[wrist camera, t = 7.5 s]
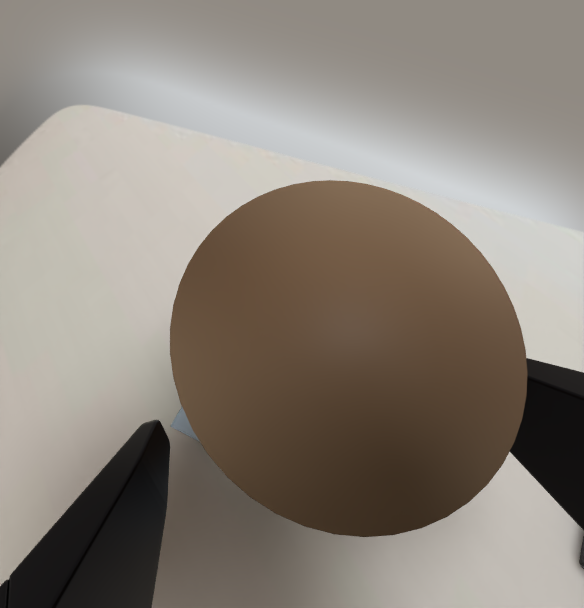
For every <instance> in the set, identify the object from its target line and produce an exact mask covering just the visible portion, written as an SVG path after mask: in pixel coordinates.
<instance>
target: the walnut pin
mask: <svg viewBox="0 0 584 608" xmlns="http://www.w3.org/2000/svg"><path fill="white" fill-rule="evenodd" d="M170 356H171V363H172V370H173V377H174V381H175V385H176V388H177V392H178V395H179V399H180V402H181V405H182V407H183V410H184V412H185V414H186V416H187V418H188V421H189V423H190V425H191V427H192V430H193V431H194V433H195V435H196V436H197V438H198V439H199V441H200V442H201V444H202V446H203V447H204V449H205V450H206V452H207V453H208V455H209V456H210V457H211V458H212V460H213V461H214V462H215V463H216V464H217V465H218V467H219V468H220V469H221V470H222V471H223V472H224V474H225V475H226V476H227V477H228V478H229V479H230V480H231V481H232V482H234V483H235V484H236V485H237V486H238V487H239V488H241V489H242V490H243V491H244V492H245V493H246V494H247V495H249V496H250V497H251V498H252V499H254V500H256V501H257V502H259V503H260V504H262V505H263V506H265V507H267V508H268V509H270V510H271V511H273V512H274V513H276V514H278V515H280V516H283V517H285V518H287V519H289V520H292V521H294V522H296V523H298V524H301V525H303V526H306V527H309V528H313V529H317V530H321V531H325V532H328V533H332V534H339V535H349V536H359V537H371V536H385V535H395V534H399V533H403V532H407V531H411V530H415V529H419V528H423V527H425V526H427V525H429V524H432V523H434V522H436V521H438V520H441V519H443V518H445V517H447V516H449V515H450V514H452V513H453V512H455V511H456V510H458V509H459V508H461V507H462V506H464V505H465V504H467V503H468V502H469V501H470V500H472V499H473V498H474V497H475V496H476V495H477V494H478V493H479V492H480V491H481V490H482V489H483V488H484V487H485V486H486V485H487V484H488V483H489V482H490V480H491V479H492V478H493V476H494V475H495V474H496V472H497V471H498V470H499V468H500V467H501V466H502V464H503V463H504V461H505V459H506V457H507V455H508V453H509V451H510V449H511V447H512V445H513V444H514V442H515V439H516V436H517V433H518V430H519V427H520V424H521V421H522V417H523V412H524V406H525V401H526V393H527V362H526V351H525V346H524V341H523V336H522V332H521V327H520V324H519V321H518V318H517V315H516V312H515V310H514V307H513V305H512V302H511V300H510V298H509V296H508V294H507V292H506V290H505V287H504V286H503V284H502V283H501V281H500V279H499V278H498V276H497V274H496V273H495V271H494V269H493V268H492V267H491V265H490V264H489V263H488V261H487V260H486V259H485V257H484V256H483V255H482V253H481V252H480V251H479V250H478V249H477V248H476V247H475V246H474V245H473V244H472V243H471V241H470V240H469V239H468V238H467V237H466V236H465V235H463V234H462V233H461V232H460V231H459V230H458V229H457V228H455V227H454V226H453V225H452V224H451V223H449V222H448V221H447V220H445V219H444V218H442V217H441V216H440V215H438V214H437V213H436V212H434V211H432V210H430V209H429V208H427V207H425V206H424V205H422V204H420V203H418V202H416V201H414V200H412V199H410V198H408V197H406V196H403V195H401V194H398V193H395V192H393V191H390V190H387V189H384V188H380V187H376V186H372V185H368V184H363V183H356V182H349V181H330V180H329V181H312V182H306V183H300V184H294V185H290V186H286V187H283V188H279V189H276V190H273V191H271V192H268V193H266V194H263V195H261V196H259V197H257V198H255V199H253V200H251V201H249V202H248V203H246V204H244V205H242V206H241V207H239V208H238V209H237V210H235V211H234V212H233V213H231V214H230V215H228V216H227V217H226V218H225V219H224V220H223V221H222V222H221V223H219V224H218V225H217V226H216V227H215V228H214V229H213V230H212V231H211V232H210V234H209V235H208V236H207V237H206V238H205V240H204V241H203V242H202V243H201V245H200V246H199V247H198V249H197V251H196V252H195V254H194V255H193V257H192V259H191V260H190V262H189V264H188V266H187V268H186V270H185V273H184V275H183V277H182V279H181V282H180V284H179V288H178V291H177V295H176V298H175V301H174V305H173V312H172V319H171V326H170Z"/></svg>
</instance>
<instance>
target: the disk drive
mask: <svg viewBox="0 0 584 608" xmlns="http://www.w3.org/2000/svg"><path fill="white" fill-rule="evenodd" d="M580 565H581V567H582V568H584V537H583V544H582V549H581V555H580Z"/></svg>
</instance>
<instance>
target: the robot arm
mask: <svg viewBox="0 0 584 608" xmlns="http://www.w3.org/2000/svg"><path fill="white" fill-rule="evenodd" d="M526 362H527V393H526V401H525V406H524V412H523V417H522V421H521V424H520V427H519V430H518V433H517V436H516V439H515V442H514V444H513V445H512V447H511V449H510V452H511V453H512V454H513V456H514V457H515V458H516V459H517V460H518V461H519V462H520V463H521V464H522V465H523V466H524V467H525V468H526V469H527V470H528V472H529V473H530V474H531V475H532V476H533V477H534V478H535V479H536V480H537V481H538V482H539V483H540V484H541V485H542V486H543V488H544V489H545V490H546V491H547V492H548V493H549V494H550V495H551V496H552V497H553V498H554V499H555V500H556V501H557V502H558V504H559V505H560V506H561V507H562V508H563V509H564V510H565V511H566V512H567V513H568V514H569V515H570V516H571V517H572V518H573V520H574V521H575V522H576V523H577V524H578V525H579V526H580V527H581V528H582V529H583V530H584V373H583V372H579V371H575V370H571V369H567V368H563V367H559V366H555V365H552V364H548V363H544V362H540V361H536V360H532V359H528V358H526ZM169 457H170V443H169V439H168V437H167V435H166V432H165V430H164V428H163V426H162V424H161V422H160V421H159V420H154V421H150V422H146V423H144V424H142V425H141V426H140V427H139V428H138V429H137V430H136V432H135V433H134V434H133V435H132V436H131V437H130V438H129V440H128V441H127V442H126V443H125V444H124V445H123V447H122V448H121V449H120V450H119V451H118V452H117V453H116V455H115V456H114V457H113V458H112V459H111V460H110V461H109V463H108V464H107V465H106V466H105V467H104V468H103V469H102V471H101V472H100V473H99V474H98V475H97V476H96V477H95V479H94V480H93V481H92V482H91V483H90V484H89V485H88V487H87V488H86V489H85V490H84V491H83V492H82V493H81V495H80V496H79V497H78V498H77V499H76V500H75V501H74V503H73V504H72V505H71V506H70V507H69V508H68V510H67V511H66V512H65V513H64V514H63V515H62V516H61V518H60V519H59V520H58V521H57V522H56V523H55V524H54V526H53V527H52V528H51V529H50V530H49V531H48V532H47V534H46V535H45V536H44V537H43V538H42V539H41V540H40V542H39V543H38V544H37V545H36V546H35V547H34V548H33V550H32V551H31V552H30V553H29V554H28V555H27V556H26V558H25V559H24V560H23V561H22V562H21V563H20V564H19V566H18V567H17V568H16V569H15V570H14V571H13V573H12V574H11V575H10V578H9V580H6V581H5V582H4V583H3V584H2V585H1V586H0V608H151V607H152V601H153V594H154V588H155V581H156V575H157V568H158V562H159V555H160V549H161V542H162V536H163V529H164V523H165V516H166V509H167V497H168V477H169Z"/></svg>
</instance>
